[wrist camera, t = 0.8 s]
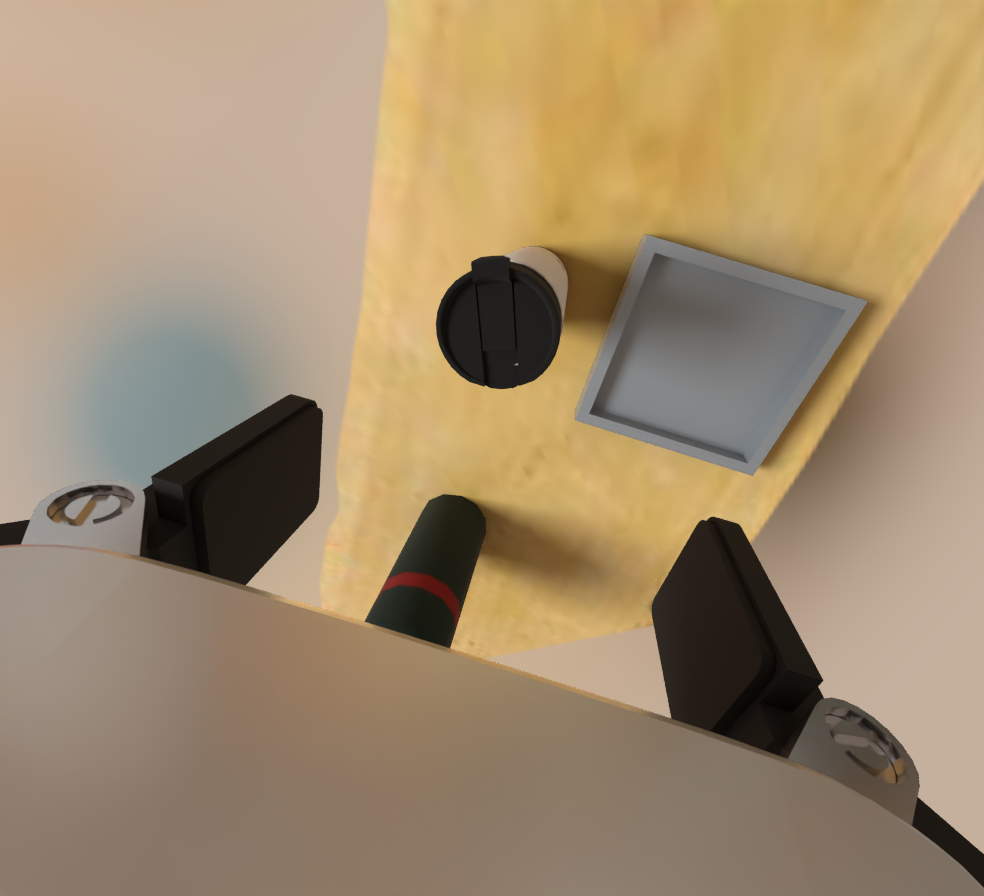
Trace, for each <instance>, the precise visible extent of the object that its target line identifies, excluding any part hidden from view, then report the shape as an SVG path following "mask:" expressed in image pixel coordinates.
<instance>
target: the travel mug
mask: <svg viewBox="0 0 984 896" xmlns="http://www.w3.org/2000/svg"><path fill="white" fill-rule="evenodd" d="M471 266H472V271H470V272H468V273H467V274H465V275H463V276H462V277H460V278H459V279H458V280H456V281H455V282H454V283H453V284H452V285H451V287H450V288H449V289H448V290H447V292H446V293H445V295H444V297H443V298H442V300H441V303H440V306H439V309H438V312H437V320H436V331H437V338H438V342H439V346H440V348H441V350H442V353H443V355H444V357H445V358H446V360H447V361H448V363H449V364H450V366H451V367H452V368H453V369H454V370H455V371H456V372H457V373H458V374H459V375H460V376H462V377H463V378H465V379H466V380H467V381H469V382H472V383H475V384H478V385H481V386H485V385H486V386H488V387H490V388H496V389H507V388H514V387H516V386H518V385H519V386H520V385H523V384H526V383H529V382H532V381H534V380H535V379H537V378H538V377H539V376H540V375H542V374H543V373H544V371H545V370H546V369H547V368H548V367H549V365H550V364H551V362H552V360H553V358H554V357H555V355H556V352H557V349H558V345H559V341H560V336H561V333H562V328H563V320H564V313H565V306H566V299H567V292H568V275H567V272H566V269H565V267H564V265H563V263H562V261H561V260H560V259H559V258H558V256H556V255H555V254H554V253H553V252H551V251H549V250H547V249H546V248H542V247H538V246H529V247H524V248H521V249H519V250H516V251H514V252H512V253H509V254H507V255H505V256H488V257H480V258H478V259H476V260H474V261H472V263H471Z"/></svg>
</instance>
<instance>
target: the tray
mask: <svg viewBox="0 0 984 896" xmlns="http://www.w3.org/2000/svg"><path fill="white" fill-rule="evenodd" d="M867 302H868V301H866V300H863V299H860V298H856V297H853V296H850V295H846V294H843V293H840V292H836V291H833V290H830V289H826V288H823V287H820V286H816V285H813V284H810V283H806V282H803V281H800V280H796V279H793V278H790V277H786V276H783V275H780V274H776V273H773V272H770V271H766V270H763V269H760V268H756V267H753V266H750V265H746V264H743V263H740V262H736V261H733V260H730V259H726V258H723V257H720V256H716V255H713V254H710V253H706V252H703V251H700V250H696V249H693V248H690V247H686V246H683V245H680V244H676V243H673V242H670V241H666V240H663V239H660V238H656V237H653V236H650V235H645V234H643V236H642V239H641V242H640V244H639V247H638V249H637V252H636V254H635V257H634V260H633V262H632V265H631V267H630V270H629V272H628V275H627V278H626V280H625V283H624V285H623V288H622V290H621V293H620V296H619V298H618V301H617V303H616V306H615V309H614V311H613V314H612V316H611V319H610V321H609V324H608V327H607V329H606V332H605V334H604V337H603V339H602V342H601V345H600V347H599V350H598V352H597V355H596V357H595V360H594V363H593V365H592V368H591V370H590V373H589V376H588V378H587V381H586V383H585V386H584V388H583V391H582V394H581V396H580V399H579V401H578V404H577V406H576V409H575V420H576V421H579V422H583V423H586V424H589V425H592V426H595V427H599V428H602V429H605V430H608V431H611V432H614V433H618V434H621V435H624V436H627V437H630V438H634V439H637V440H640V441H643V442H646V443H649V444H653V445H656V446H659V447H662V448H665V449H669V450H672V451H675V452H678V453H681V454H684V455H688V456H691V457H694V458H697V459H700V460H704V461H707V462H710V463H713V464H716V465H719V466H723V467H726V468H729V469H732V470H735V471H739V472H742V473H745V474H748V475H751V476H753V475H754V474H755V472H756V471H757V469H758V468H759V466H760V465H761V463H762V462H763V460H764V459H765V457H766V456H767V454H768V453H769V451H770V449H771V448H772V446H773V445H774V443H775V442H776V440H777V439H778V437H779V436H780V434H781V433H782V431H783V430H784V428H785V427H786V425H787V424H788V422H789V421H790V419H791V418H792V416H793V415H794V413H795V411H796V410H797V408H798V407H799V405H800V404H801V402H802V401H803V399H804V398H805V396H806V395H807V393H808V392H809V390H810V389H811V387H812V386H813V384H814V383H815V381H816V380H817V378H818V377H819V375H820V373H821V372H822V370H823V369H824V367H825V366H826V364H827V363H828V361H829V360H830V358H831V357H832V355H833V354H834V352H835V351H836V349H837V348H838V346H839V345H840V343H841V342H842V340H843V339H844V337H845V335H846V334H847V332H848V331H849V329H850V328H851V326H852V325H853V323H854V322H855V320H856V319H857V317H858V316H859V314H860V313H861V311H862V310H863V308H864V307H865V305H866V304H867Z"/></svg>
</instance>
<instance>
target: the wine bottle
mask: <svg viewBox="0 0 984 896" xmlns="http://www.w3.org/2000/svg"><path fill="white" fill-rule="evenodd" d="M485 533H486V525H485V517H484V516H483V514H482V513H481V511H480V510H479V508H478V507H477V505H476V504H474V503H472V502H470V501H469V500H467V499H465V498H464V497H462V496H455V495H444V494H443V495H441V496H439V497H436V498H434V499H432V500H429V502H428V503H427V505H426V506H425V508H424V510H423V511H422V513H421V515H420V517H419V519H418V521H417V522H416V524H415V526H414V528H413V530H412V532H411V534H410V536H409V538H408V540H407V542H406V543H405V545H404V547H403V549H402V551H401V553H400V555H399V557H398V559H397V561H396V563H395V564H394V566H393V568H392V570H391V572H390V574H389V576H388V578H387V580H386V582H385V584H384V585H383V587H382V589H381V591H380V593H379V595H378V597H377V599H376V601H375V603H374V605H373V606H372V608H371V610H370V612H369V614H368V616H367V618H366V620H365V622H367V623H370V624H373V625H377V626H380V627H383V628H386V629H389V630H393V631H396V632H399V633H402V634H406V635H409V636H412V637H415V638H418V639H422V640H425V641H428V642H431V643H434V644H438V645H441V646H444V647H447V648H450V647H451V643H452V640H453V637H454V634H455V630H456V627H457V624H458V621H459V617H460V614H461V611H462V608H463V604H464V601H465V598H466V595H467V592H468V588H469V585H470V582H471V579H472V575H473V572H474V569H475V566H476V562H477V559H478V556H479V553H480V549H481V546H482V543H483V540H484V536H485Z"/></svg>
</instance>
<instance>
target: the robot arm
mask: <svg viewBox="0 0 984 896" xmlns="http://www.w3.org/2000/svg"><path fill="white" fill-rule="evenodd" d="M322 423H323V412H322V410H321V409H320V408H317V404H316V402H315V401H313V400H310V399H306V398H303V397H300V396H296V395H292V394H290V395H288V396H286V397H284V398H283V399H281V400H279V401H277V402H276V403H274V404H272V405H271V406H269V407H267V408H266V409H264V410H262V411H261V412H259V413H257V414H256V415H254V416H252V417H251V418H249V419H247V420H246V421H244V422H242V423H240V424H239V425H237V426H235V427H234V428H232V429H230V430H229V431H227V432H225V433H224V434H222V435H220V436H219V437H217V438H215V439H214V440H212V441H210V442H208V443H207V444H205V445H203V446H202V447H200V448H198V449H197V450H195V451H194V452H192V453H190V454H188V455H187V456H185V457H183V458H182V459H180V460H178V461H176V462H175V463H173V464H171V465H170V466H168V467H167V468H165V469H163V470H161V471H160V472H158V473H156V474H155V475H153V476H151V477H152V483H153V484H152V485H150V486H148V487H147V488H145V489H143V490H142V489H141V488H139V487H138V486H137V485H134V484H132V483H129V482H126V481H119V480H95V481H89V482H82V483H79V484H75V485H72V486H68V487H65V488H63V489H61V490H58V491H56V492H54V493H52V494H50V495H49V496H47V497H46V498H45V499H43V500H42V501H41V502H40V503H39V504H38V506H37V507H36V508H35V510H34V512H33V514H32V517H31V520H24V521H18V522H11V523H5V524H0V896H984V854H983V853H982V852H980V851H979V850H978V849H977V848H976V847H974V846H973V845H972V844H971V843H970V842H969V841H968V840H967V839H965V838H964V837H963V836H962V835H961V834H960V833H958V832H957V831H956V830H955V829H954V828H953V827H951V826H950V825H949V824H948V823H947V822H946V821H945V820H944V819H942V818H941V817H940V816H939V815H938V814H937V813H935V812H934V811H933V810H932V809H931V808H930V807H928V806H927V805H926V804H925V803H924V802H923V801H922V800H920V799H919V798H918V792H919V787H920V785H919V774H918V772H917V770H916V767H915V765H914V763H913V760H912V759H911V757H910V756H909V754H908V753H907V751H906V750H905V749H904V747H903V746H902V744H901V743H900V742H899V741H898V740H897V739H896V738H895V737H894V736H893V734H892V733H891V732H890V731H889V730H888V729H887V728H885V727H884V726H883V725H882V724H881V723H879V722H878V721H877V720H876V719H875V718H874V717H872V716H871V715H869V714H868V713H866V712H865V711H863V710H862V709H860V708H859V707H857V706H855V705H853V704H850V703H848V702H846V701H844V700H840V699H836V698H824V697H823V695H822V693H821V691H820V690H819V688H818V686H819V685H820V684H821V682H822V681H823V679H822V677H821V675H820V674H819V671H818V670H817V668H816V666H815V664H814V662H813V660H812V658H811V656H810V655H809V653H808V651H807V649H806V647H805V645H804V643H803V642H802V640H801V638H800V636H799V634H798V632H797V630H796V629H795V627H794V625H793V623H792V621H791V619H790V617H789V615H788V614H787V612H786V610H785V608H784V606H783V604H782V603H781V601H780V599H779V597H778V595H777V593H776V591H775V589H774V588H773V586H772V584H771V582H770V580H769V579H768V576H767V574H766V573H765V571H764V569H763V567H762V565H761V563H760V561H759V560H758V558H757V556H756V554H755V552H754V550H753V548H752V546H751V545H750V543H749V541H748V539H747V537H746V535H745V533H744V532H743V530H742V528H741V526H740V525H739V524H737V523H734V522H730V521H727V520H723V519H720V518H716V517H710V518H709V519H708V520H707V521H705V520H701V521H700V522H699V523H698V524H697V526H696V527H695V529H694V531H693V533H692V534H691V536H690V538H689V540H688V541H687V543H686V545H685V546H684V548H683V550H682V552H681V553H680V555H679V557H678V558H677V560H676V562H675V564H674V565H673V567H672V569H671V571H670V572H669V574H668V576H667V577H666V579H665V581H664V583H663V584H662V586H661V588H660V589H659V591H658V593H657V595H656V596H655V598H654V600H653V604H652V618H653V623H654V628H655V633H656V639H657V644H658V649H659V654H660V660H661V665H662V670H663V676H664V681H665V687H666V692H667V697H668V702H669V708H670V713H671V718H672V719H671V718H667V717H665V716H662V715H659V714H655V713H653V712H649V711H646V710H643V709H640V708H637V707H634V706H631V705H628V704H624V703H621V702H618V701H615V700H612V699H609V698H605V697H602V696H599V695H596V694H593V693H590V692H586V691H583V690H580V689H577V688H574V687H571V686H567V685H565V684H562V683H558V682H555V681H552V680H549V679H546V678H543V677H540V676H537V675H533V674H530V673H527V672H524V671H521V670H517V669H514V668H511V667H508V666H505V665H502V664H498V663H495V662H492V661H489V660H486V659H482V658H479V657H476V656H473V655H470V654H466V653H463V652H460V651H457V650H454V649H450V648H447V647H444V646H441V645H438V644H434V643H431V642H428V641H425V640H422V639H418V638H415V637H412V636H409V635H406V634H402V633H399V632H396V631H393V630H389V629H386V628H383V627H380V626H377V625H373V624H370V623H367V622H364V621H360V620H357V619H354V618H350V617H347V616H344V615H341V614H337V613H334V612H331V611H328V610H324V609H321V608H318V607H315V606H311V605H308V604H305V603H302V602H298V601H295V600H291V599H288V598H285V597H282V596H278V595H275V594H272V593H269V592H266V591H262V590H259V589H256V588H252V587H249V586H246V584H247V583H248V582H249V581H250V580H251V579H252V578H253V577H254V575H255V574H256V573H257V572H258V571H259V570H260V569H261V568H262V567H263V566H264V564H266V562H267V561H268V560H269V559H270V558H271V557H272V556H273V555H274V553H276V551H277V550H278V549H279V548H280V547H281V546H282V545H283V544H284V543H285V542H286V541H287V540H288V538H289V537H290V536H291V535H292V534H293V533H294V532H295V531H296V529H298V528H299V526H300V525H301V524H302V523H303V522H304V521H305V520H306V519H307V518H308V516H310V514H311V513H312V512H313V511H314V510H315V508H316V506H317V503H318V500H319V487H320V466H321V464H320V463H321V444H322Z"/></svg>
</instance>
